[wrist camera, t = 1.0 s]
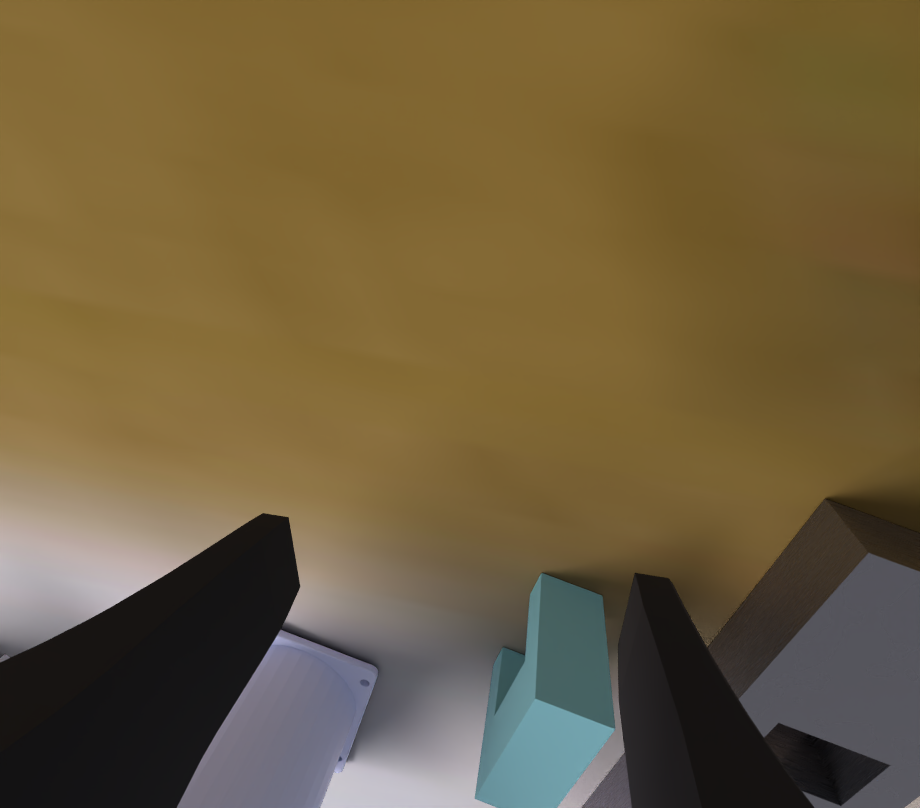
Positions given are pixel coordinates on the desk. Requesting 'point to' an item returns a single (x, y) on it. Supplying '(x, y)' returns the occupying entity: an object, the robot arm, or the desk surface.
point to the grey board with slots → (829, 663)
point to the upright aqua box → (548, 701)
